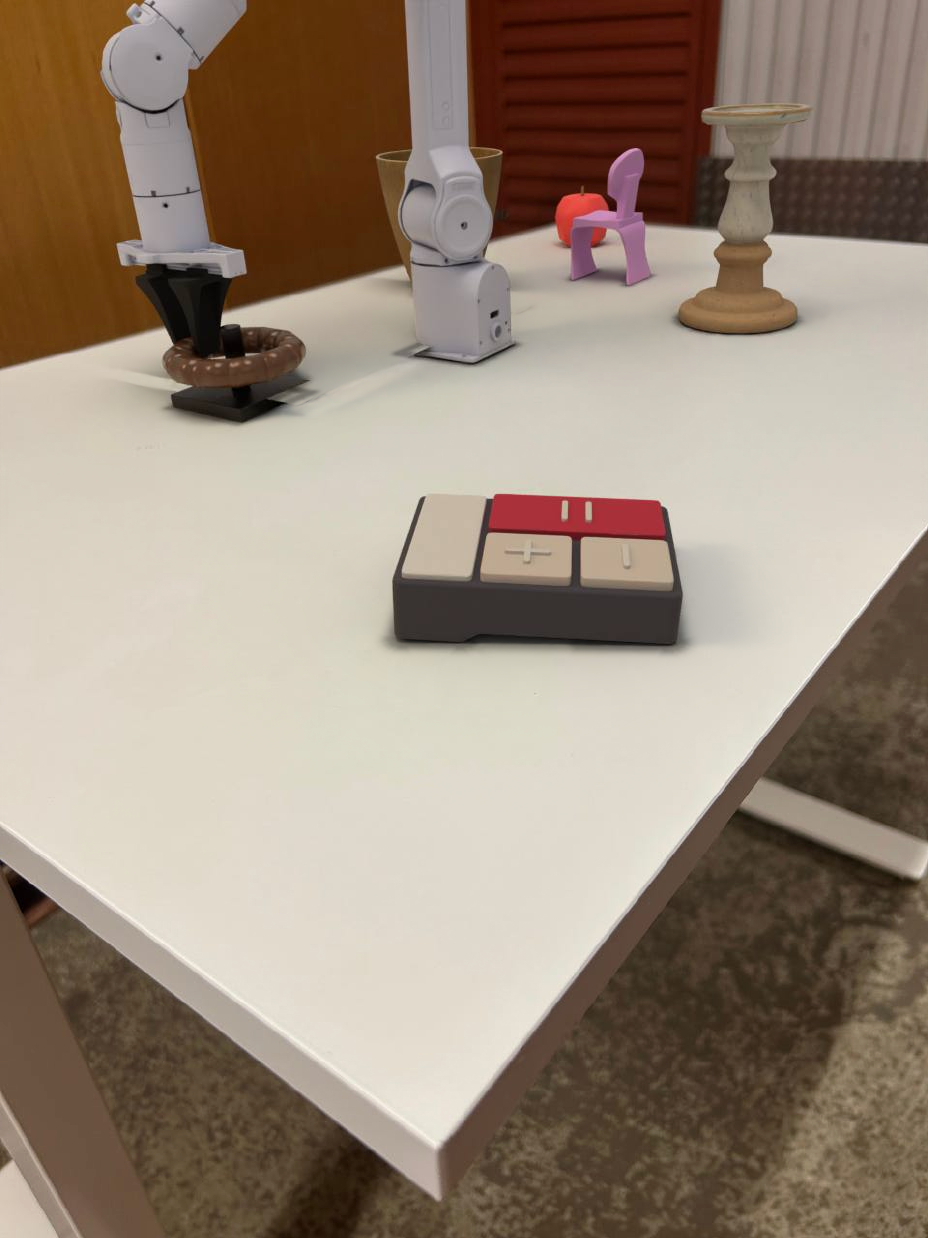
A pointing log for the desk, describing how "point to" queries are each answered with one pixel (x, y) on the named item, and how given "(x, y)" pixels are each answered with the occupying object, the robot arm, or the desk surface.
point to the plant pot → (394, 184)
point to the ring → (237, 360)
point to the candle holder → (745, 225)
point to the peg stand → (234, 400)
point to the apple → (579, 214)
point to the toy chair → (615, 221)
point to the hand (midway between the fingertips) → (197, 351)
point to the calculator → (538, 569)
